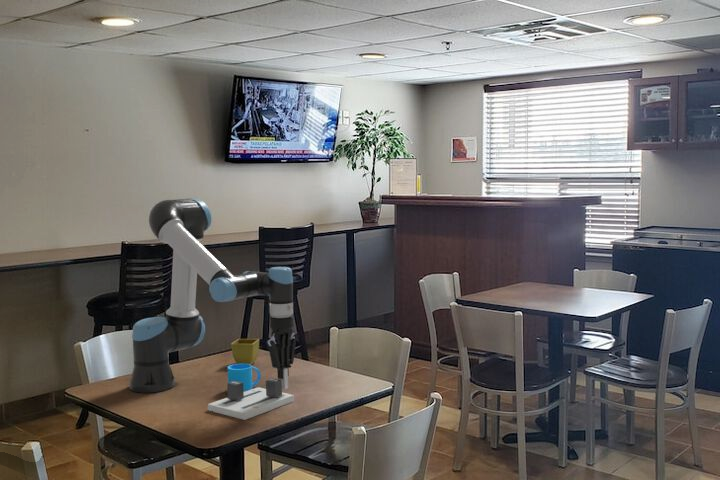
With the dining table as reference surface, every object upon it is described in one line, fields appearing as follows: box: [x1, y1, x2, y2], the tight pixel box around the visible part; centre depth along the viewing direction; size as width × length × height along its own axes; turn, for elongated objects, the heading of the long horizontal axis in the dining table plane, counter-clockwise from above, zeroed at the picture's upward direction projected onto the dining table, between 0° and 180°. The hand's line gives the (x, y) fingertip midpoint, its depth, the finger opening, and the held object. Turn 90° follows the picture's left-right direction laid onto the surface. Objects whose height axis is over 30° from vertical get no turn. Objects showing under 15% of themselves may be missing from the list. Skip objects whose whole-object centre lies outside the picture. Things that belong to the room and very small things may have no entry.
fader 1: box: [226, 381, 244, 401], centre depth 234 cm, size 4×3×5 cm
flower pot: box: [230, 338, 260, 366], centre depth 286 cm, size 9×9×9 cm
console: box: [207, 386, 295, 421], centre depth 234 cm, size 16×22×2 cm
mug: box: [227, 363, 262, 392], centre depth 252 cm, size 12×8×8 cm
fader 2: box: [265, 377, 283, 398], centre depth 236 cm, size 4×3×5 cm
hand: (283, 387), depth 240 cm, fingers closed
